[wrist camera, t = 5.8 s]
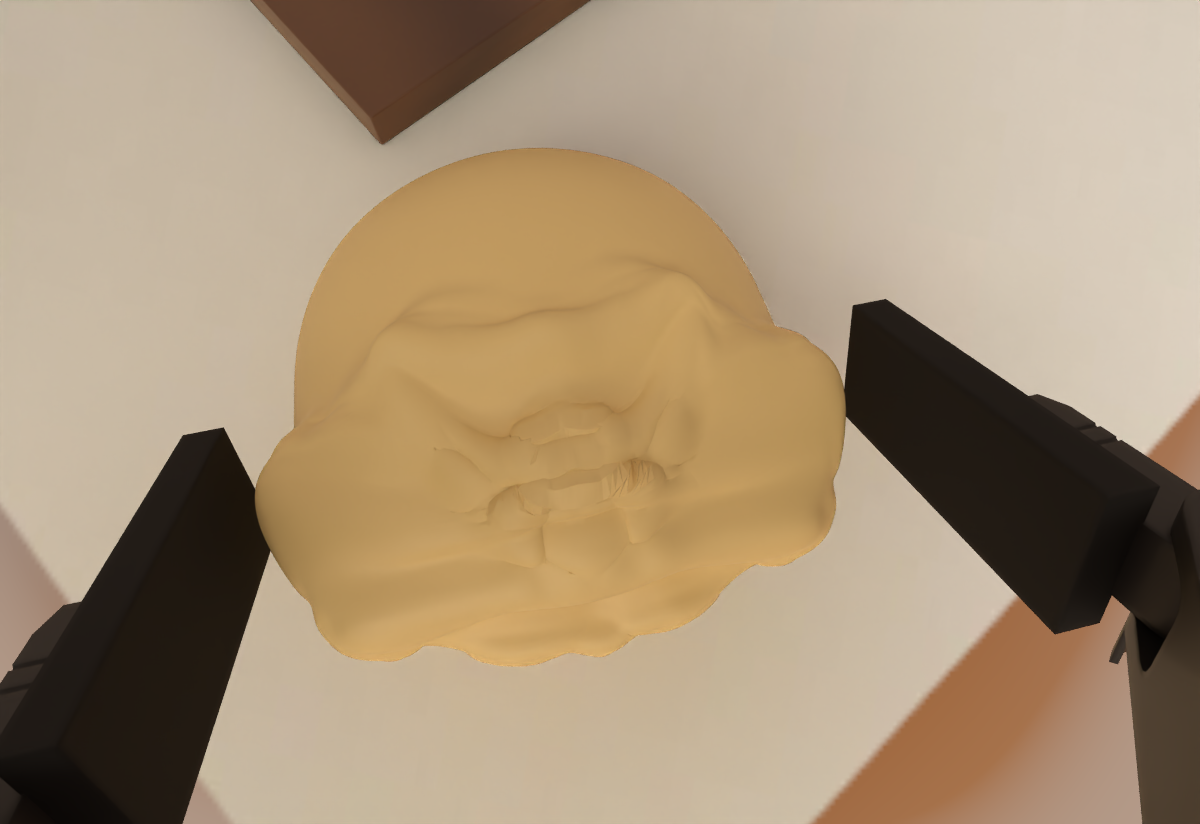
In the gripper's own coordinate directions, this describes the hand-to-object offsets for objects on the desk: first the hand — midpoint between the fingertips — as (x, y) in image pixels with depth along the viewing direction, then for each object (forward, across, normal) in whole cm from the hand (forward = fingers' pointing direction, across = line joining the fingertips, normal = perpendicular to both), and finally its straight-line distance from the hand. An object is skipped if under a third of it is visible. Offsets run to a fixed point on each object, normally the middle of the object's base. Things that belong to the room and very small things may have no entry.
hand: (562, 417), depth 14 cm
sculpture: (+6, 0, -4) cm, 7 cm away
